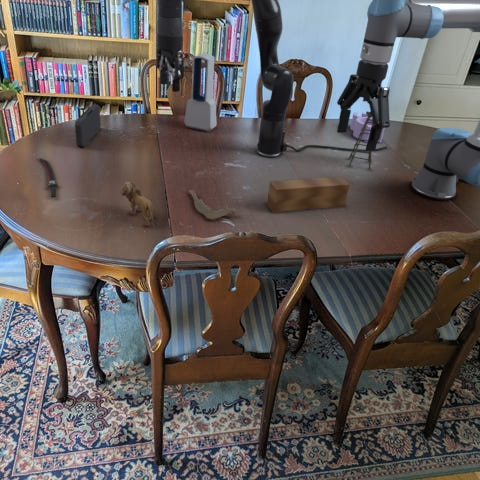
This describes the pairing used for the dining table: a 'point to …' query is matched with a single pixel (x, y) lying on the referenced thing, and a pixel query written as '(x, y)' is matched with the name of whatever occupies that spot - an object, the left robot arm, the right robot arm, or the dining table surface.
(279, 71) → the left robot arm
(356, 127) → the purple notched block
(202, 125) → the electronic device
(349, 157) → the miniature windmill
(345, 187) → the bar
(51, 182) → the sword
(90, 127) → the handheld gaming console
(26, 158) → the dining table surface
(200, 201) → the jawbone
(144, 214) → the lion figurine
